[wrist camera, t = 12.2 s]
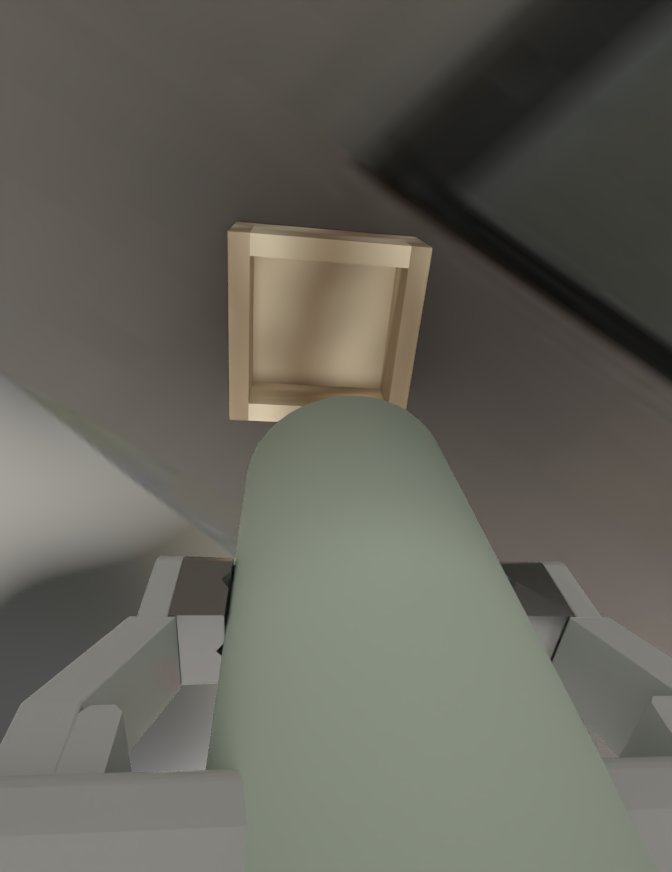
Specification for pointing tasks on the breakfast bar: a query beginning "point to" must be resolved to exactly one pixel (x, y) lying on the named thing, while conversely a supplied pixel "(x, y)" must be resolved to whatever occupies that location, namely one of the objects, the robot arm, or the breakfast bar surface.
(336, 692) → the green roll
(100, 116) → the breakfast bar surface
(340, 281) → the square wooden tray
